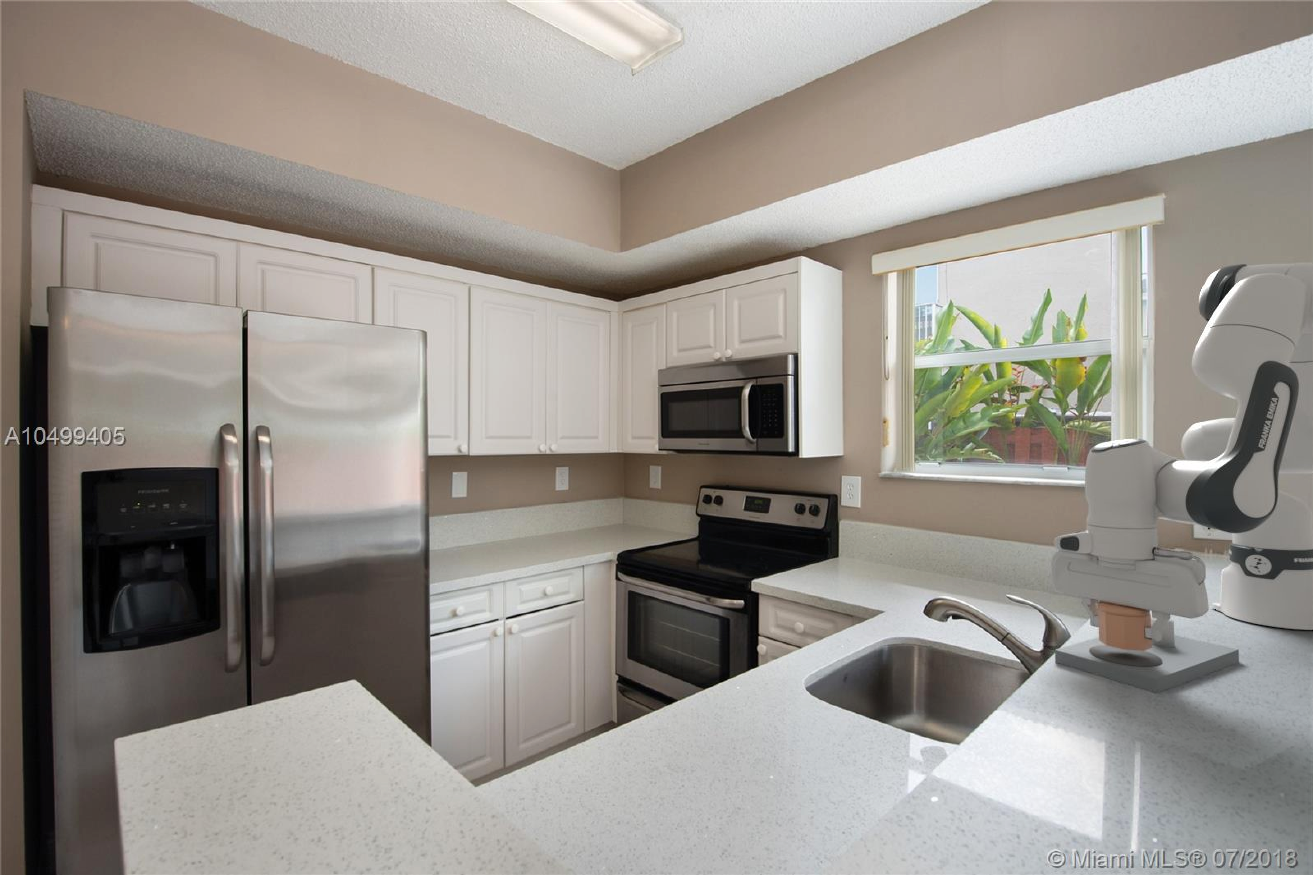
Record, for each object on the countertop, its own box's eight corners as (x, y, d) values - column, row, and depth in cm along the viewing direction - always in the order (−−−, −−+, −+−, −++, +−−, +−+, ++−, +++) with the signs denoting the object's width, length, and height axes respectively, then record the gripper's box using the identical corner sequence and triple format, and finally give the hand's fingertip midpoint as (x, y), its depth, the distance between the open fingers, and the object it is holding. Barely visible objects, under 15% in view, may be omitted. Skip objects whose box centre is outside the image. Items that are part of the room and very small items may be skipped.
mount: (1137, 637, 109) (1136, 604, 109) (1239, 662, 96) (1237, 624, 96) (1055, 662, 98) (1054, 624, 99) (1157, 693, 86) (1155, 650, 86)
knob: (1159, 645, 94) (1157, 605, 94) (1140, 653, 90) (1138, 611, 90) (1111, 635, 99) (1109, 596, 99) (1091, 642, 96) (1090, 602, 96)
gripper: (1215, 551, 87) (1219, 648, 87) (1066, 534, 105) (1069, 614, 105) (1193, 556, 84) (1196, 656, 84) (1043, 537, 103) (1046, 619, 102)
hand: (1124, 632), depth 95 cm, fingers closed on knob, 6 cm apart
